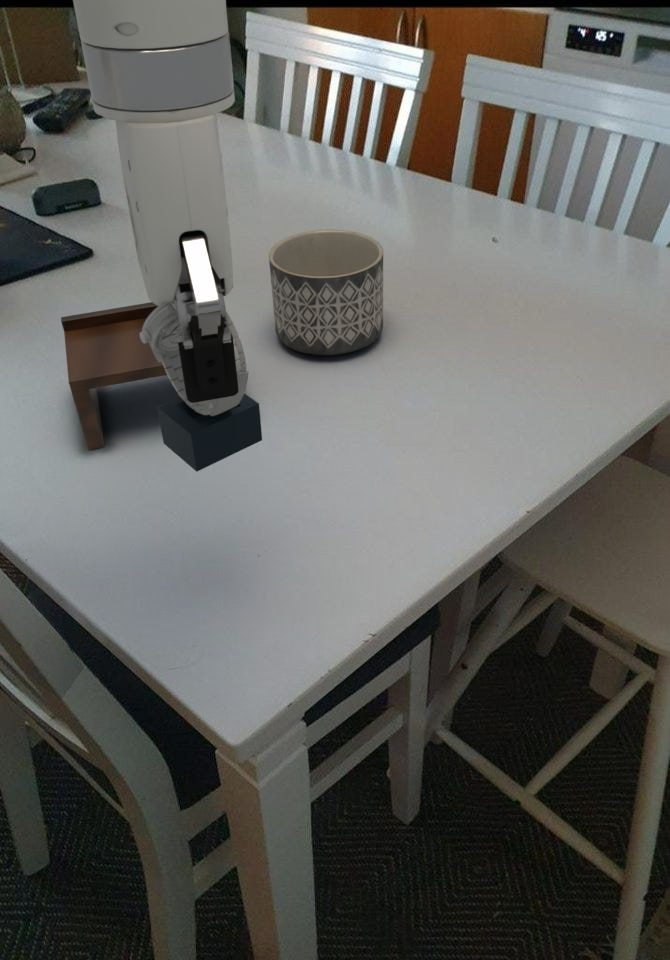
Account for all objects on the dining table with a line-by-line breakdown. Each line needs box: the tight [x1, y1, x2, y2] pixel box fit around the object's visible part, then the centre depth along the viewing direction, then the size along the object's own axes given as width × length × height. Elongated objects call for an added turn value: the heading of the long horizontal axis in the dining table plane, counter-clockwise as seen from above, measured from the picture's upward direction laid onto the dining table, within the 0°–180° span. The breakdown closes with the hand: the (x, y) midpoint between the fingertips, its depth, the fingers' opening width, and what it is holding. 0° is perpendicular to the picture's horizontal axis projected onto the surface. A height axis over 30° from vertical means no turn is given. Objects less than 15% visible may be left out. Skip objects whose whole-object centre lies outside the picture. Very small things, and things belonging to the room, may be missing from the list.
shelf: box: [60, 301, 181, 451], centre depth 83 cm, size 16×11×9 cm
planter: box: [268, 229, 384, 356], centre depth 93 cm, size 13×13×10 cm
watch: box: [140, 299, 263, 473], centre depth 54 cm, size 6×8×11 cm
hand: (201, 361), depth 54 cm, fingers closed on watch, 8 cm apart
